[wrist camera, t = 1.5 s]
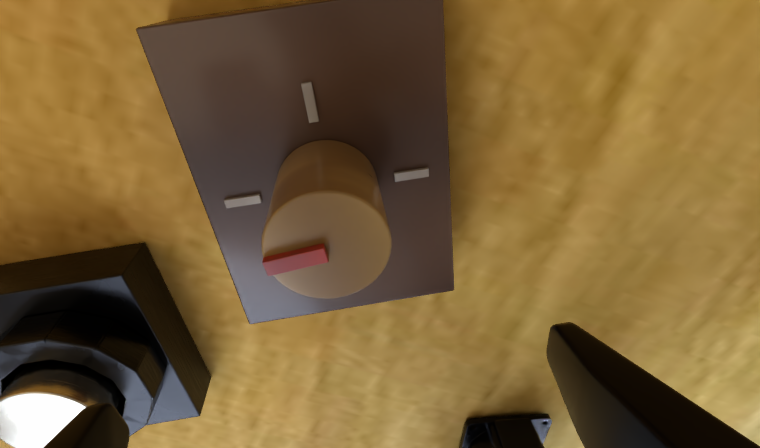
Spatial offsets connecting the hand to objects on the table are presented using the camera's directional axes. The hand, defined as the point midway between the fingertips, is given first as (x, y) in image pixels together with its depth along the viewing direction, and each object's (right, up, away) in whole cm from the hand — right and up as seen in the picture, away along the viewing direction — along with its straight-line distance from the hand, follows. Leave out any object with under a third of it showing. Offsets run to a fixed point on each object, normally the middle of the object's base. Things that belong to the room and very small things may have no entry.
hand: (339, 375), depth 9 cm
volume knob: (-1, +5, +8) cm, 9 cm away
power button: (-14, -5, +11) cm, 18 cm away
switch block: (-14, -3, +14) cm, 20 cm away
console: (-2, +6, +11) cm, 13 cm away
